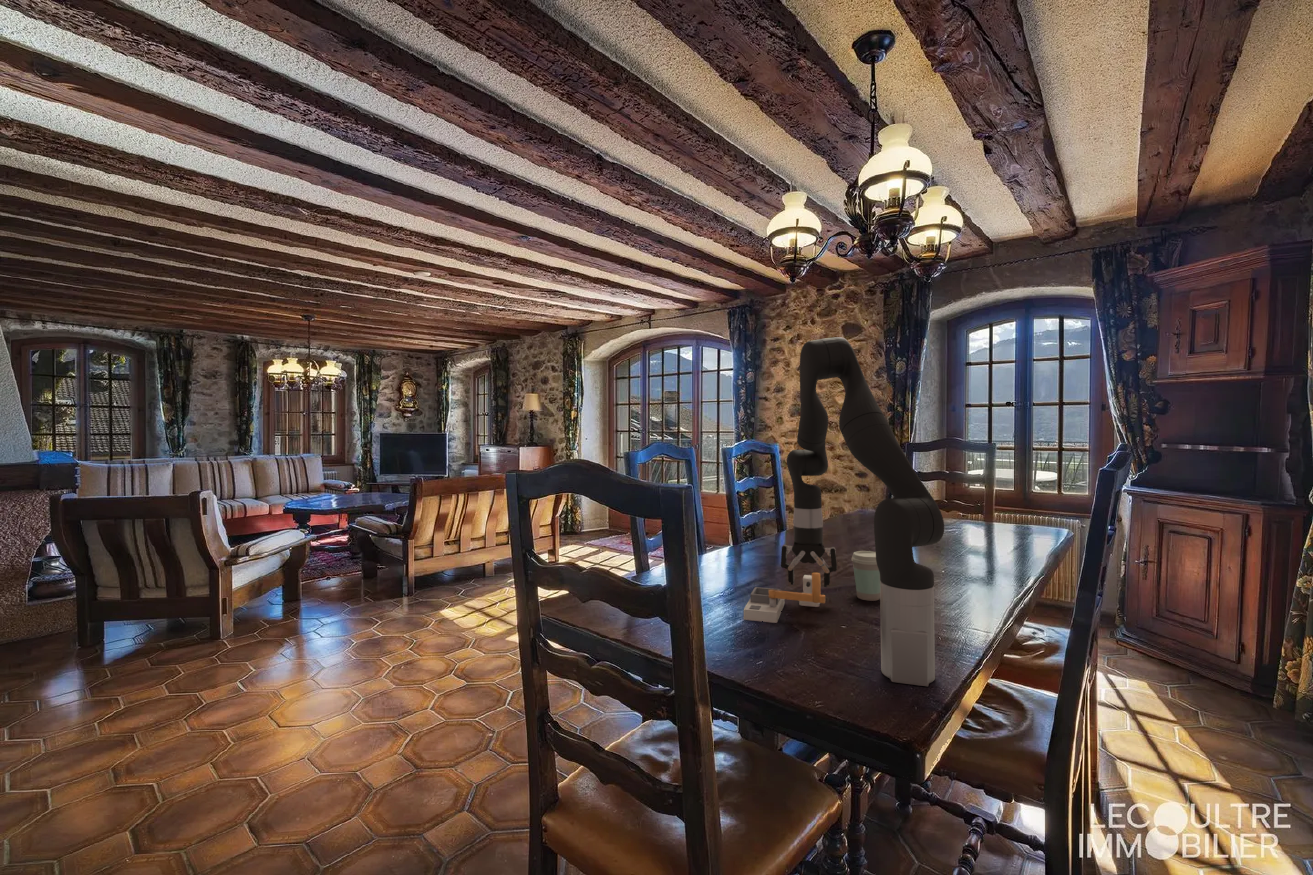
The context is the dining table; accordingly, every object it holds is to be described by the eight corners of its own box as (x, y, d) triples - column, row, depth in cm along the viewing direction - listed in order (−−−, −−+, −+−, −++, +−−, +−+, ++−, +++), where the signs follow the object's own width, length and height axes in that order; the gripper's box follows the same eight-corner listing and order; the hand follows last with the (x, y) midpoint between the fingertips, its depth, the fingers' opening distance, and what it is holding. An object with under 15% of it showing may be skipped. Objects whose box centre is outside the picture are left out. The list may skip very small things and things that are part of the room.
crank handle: (767, 597, 136) (767, 570, 136) (769, 595, 138) (769, 568, 138) (824, 603, 131) (824, 575, 130) (825, 601, 132) (825, 573, 132)
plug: (818, 608, 142) (818, 581, 142) (798, 607, 143) (798, 580, 143) (820, 601, 148) (819, 575, 148) (801, 599, 150) (800, 574, 149)
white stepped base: (776, 622, 132) (776, 604, 132) (743, 619, 134) (743, 601, 134) (784, 604, 146) (784, 587, 146) (754, 601, 148) (754, 584, 148)
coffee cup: (887, 595, 152) (887, 552, 151) (881, 604, 144) (881, 558, 144) (855, 591, 156) (855, 549, 156) (848, 599, 149) (847, 555, 149)
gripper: (836, 523, 147) (837, 583, 147) (782, 521, 152) (783, 579, 152) (835, 528, 140) (836, 591, 140) (778, 525, 145) (779, 587, 145)
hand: (808, 585), depth 146 cm, fingers open, 8 cm apart
